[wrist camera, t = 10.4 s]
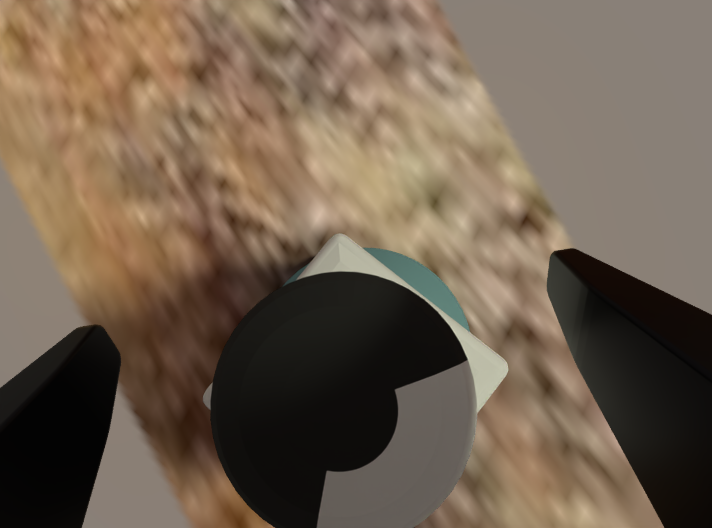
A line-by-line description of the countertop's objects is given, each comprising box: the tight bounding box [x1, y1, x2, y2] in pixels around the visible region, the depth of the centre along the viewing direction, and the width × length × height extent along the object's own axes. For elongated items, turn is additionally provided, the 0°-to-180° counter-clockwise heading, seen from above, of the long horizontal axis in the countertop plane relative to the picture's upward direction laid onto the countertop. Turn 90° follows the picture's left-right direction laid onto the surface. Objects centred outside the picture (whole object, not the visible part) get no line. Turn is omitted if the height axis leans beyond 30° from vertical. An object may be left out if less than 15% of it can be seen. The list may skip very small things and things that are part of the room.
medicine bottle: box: [203, 233, 508, 528], centre depth 16 cm, size 7×7×12 cm
